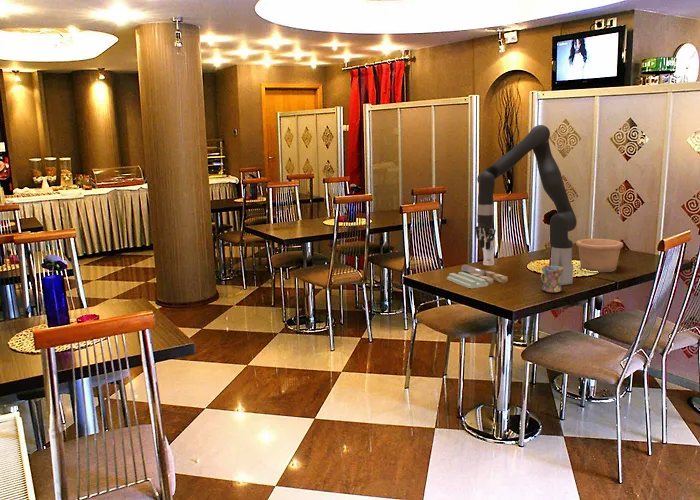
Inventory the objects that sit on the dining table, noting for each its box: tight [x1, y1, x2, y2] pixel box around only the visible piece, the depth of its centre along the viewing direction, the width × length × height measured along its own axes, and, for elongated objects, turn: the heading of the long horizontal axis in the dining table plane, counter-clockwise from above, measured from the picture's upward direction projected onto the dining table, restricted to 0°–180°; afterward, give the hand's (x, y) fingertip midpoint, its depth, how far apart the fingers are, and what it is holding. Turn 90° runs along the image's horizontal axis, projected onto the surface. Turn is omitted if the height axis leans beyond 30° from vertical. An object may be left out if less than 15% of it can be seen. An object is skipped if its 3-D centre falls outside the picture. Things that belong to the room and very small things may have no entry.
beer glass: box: [481, 236, 496, 266], centre depth 319 cm, size 7×7×15 cm
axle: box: [461, 264, 486, 276], centre depth 298 cm, size 16×4×4 cm, turn 22°
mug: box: [540, 265, 564, 294], centre depth 262 cm, size 12×9×11 cm
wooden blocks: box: [469, 270, 509, 286], centre depth 286 cm, size 16×11×2 cm
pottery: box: [575, 238, 624, 273], centre depth 300 cm, size 22×22×14 cm
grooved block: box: [446, 271, 489, 289], centre depth 282 cm, size 20×10×3 cm, turn 22°
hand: (484, 248), depth 286 cm, fingers open, 4 cm apart
